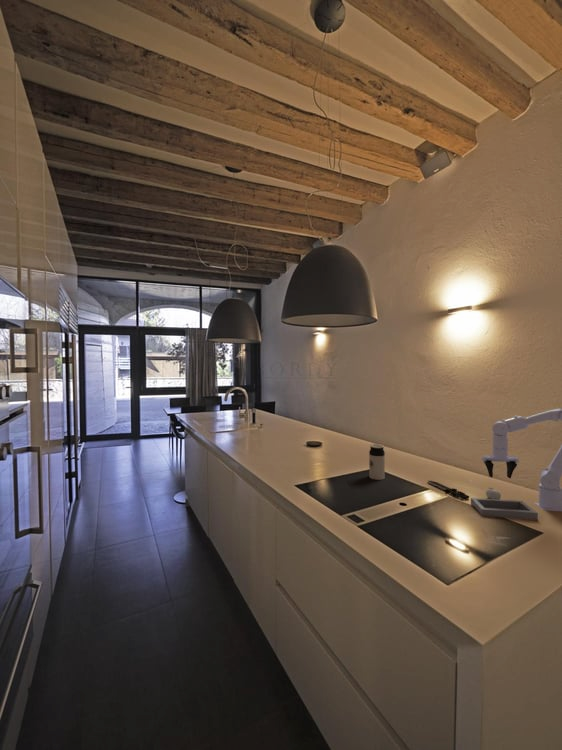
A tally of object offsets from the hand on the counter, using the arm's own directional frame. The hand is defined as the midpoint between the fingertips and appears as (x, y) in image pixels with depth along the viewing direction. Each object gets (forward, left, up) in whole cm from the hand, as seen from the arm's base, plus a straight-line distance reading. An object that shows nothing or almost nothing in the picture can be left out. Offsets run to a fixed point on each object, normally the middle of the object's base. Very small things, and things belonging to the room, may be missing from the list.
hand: (499, 477), depth 155 cm
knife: (+25, -1, -12) cm, 27 cm away
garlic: (+4, +3, -10) cm, 11 cm away
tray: (+6, +17, -9) cm, 20 cm away
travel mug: (+53, -18, -10) cm, 57 cm away
